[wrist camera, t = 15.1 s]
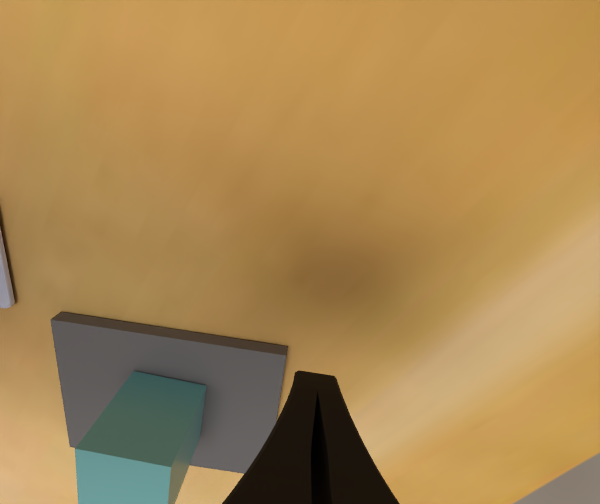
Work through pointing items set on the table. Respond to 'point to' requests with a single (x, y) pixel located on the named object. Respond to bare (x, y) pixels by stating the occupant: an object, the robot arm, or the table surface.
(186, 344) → the pin stand
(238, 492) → the robot arm
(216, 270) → the table surface
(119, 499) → the teal square block
